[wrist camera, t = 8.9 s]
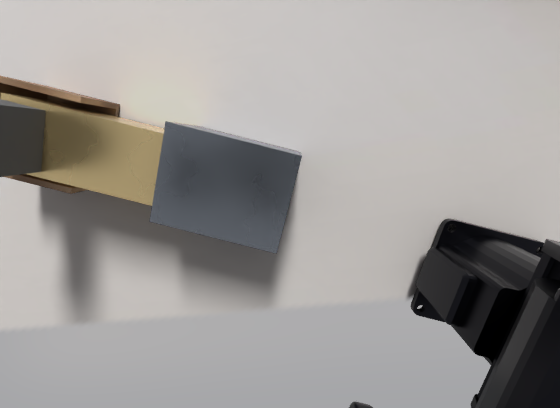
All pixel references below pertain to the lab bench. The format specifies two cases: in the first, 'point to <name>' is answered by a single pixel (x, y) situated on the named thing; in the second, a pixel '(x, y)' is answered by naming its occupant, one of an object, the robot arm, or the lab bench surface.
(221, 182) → the grey end cap
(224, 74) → the lab bench surface
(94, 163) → the grey and tan block
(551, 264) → the robot arm
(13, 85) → the socket
